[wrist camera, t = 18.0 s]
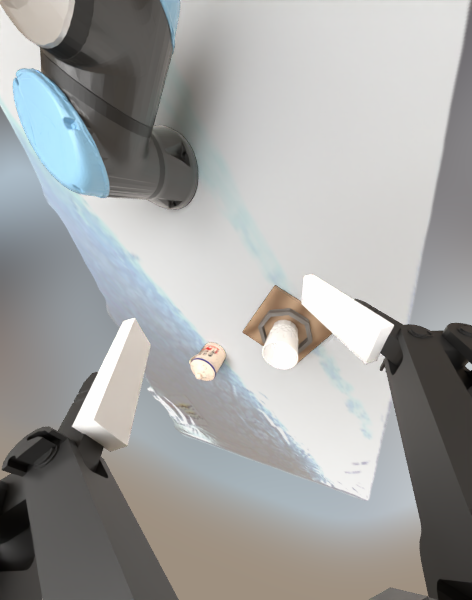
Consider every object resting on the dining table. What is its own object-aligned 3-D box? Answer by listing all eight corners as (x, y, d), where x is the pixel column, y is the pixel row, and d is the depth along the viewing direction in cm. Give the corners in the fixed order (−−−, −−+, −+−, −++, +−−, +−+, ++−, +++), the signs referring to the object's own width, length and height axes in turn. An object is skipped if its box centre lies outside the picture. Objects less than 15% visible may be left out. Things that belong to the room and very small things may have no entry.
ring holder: (243, 329, 53) (240, 335, 51) (275, 285, 43) (272, 289, 41) (293, 363, 52) (293, 370, 49) (338, 324, 42) (340, 331, 39)
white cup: (264, 329, 49) (255, 354, 41) (282, 311, 44) (275, 335, 36) (287, 346, 49) (282, 374, 40) (307, 330, 44) (306, 358, 36)
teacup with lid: (222, 341, 59) (205, 367, 49) (229, 362, 62) (214, 390, 53) (194, 340, 64) (174, 363, 54) (202, 359, 67) (184, 384, 58)
